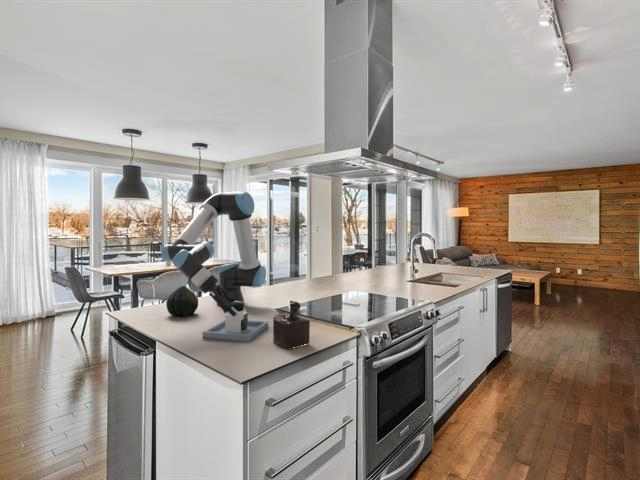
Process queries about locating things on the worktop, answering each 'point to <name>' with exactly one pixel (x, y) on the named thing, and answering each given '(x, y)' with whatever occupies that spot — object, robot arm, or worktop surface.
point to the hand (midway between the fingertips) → (243, 316)
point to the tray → (245, 336)
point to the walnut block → (278, 315)
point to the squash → (182, 302)
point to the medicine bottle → (231, 323)
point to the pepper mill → (291, 328)
